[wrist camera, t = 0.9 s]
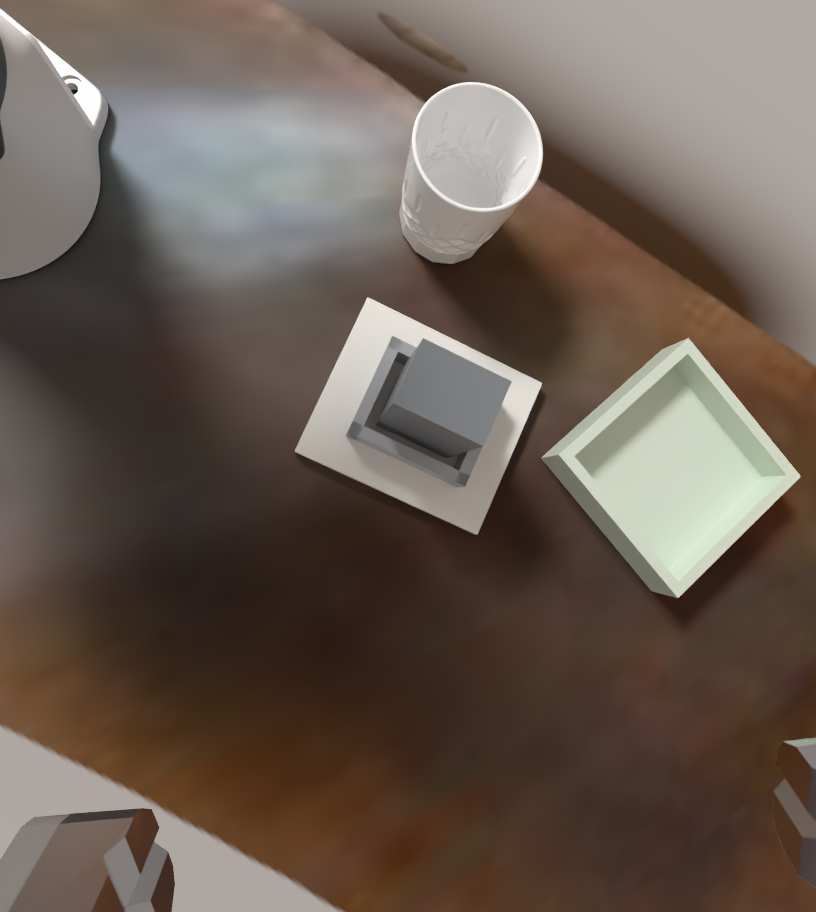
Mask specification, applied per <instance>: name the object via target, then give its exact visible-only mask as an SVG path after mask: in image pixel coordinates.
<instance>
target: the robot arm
mask: <svg viewBox="0 0 816 912" xmlns="http://www.w3.org/2000/svg"><path fill="white" fill-rule="evenodd" d="M74 89H75V90H78V92H77V93H76V94H74V95H73V93H72V92H71V90H74ZM107 115H108V104H107V101H106V99H105V98H104V96H103V95H102V94H101V92H100V91H99V89H98V88H97V87H96V86H94V85H93V84H92V83H91V82H90V81H88V80H87V79H86V78H85V77H83V76H82V75H81V74H80V73H79V72H77V71H76V70H75V69H74V68H72V67H71V66H70V65H69V64H68V63H66V62H65V61H64V60H63V59H61V58H60V57H59V56H58V55H57V54H55V53H54V52H53V51H52V50H50V49H49V48H48V47H47V46H46V45H44V44H43V43H42V42H41V41H39V40H38V39H37V38H36V37H35V36H33V35H32V34H31V33H30V32H28V31H27V30H26V29H25V28H24V27H22V26H21V25H20V24H19V23H18V22H16V21H15V20H14V19H13V18H11V17H10V16H9V15H8V14H7V13H5V12H4V11H3V10H2V9H0V279H6V278H11V277H16V276H20V275H23V274H26V273H29V272H32V271H34V270H37V269H39V268H41V267H43V266H45V265H47V264H49V263H50V262H52V261H54V260H55V259H57V258H58V257H59V256H61V255H62V254H63V253H65V252H66V251H67V250H68V249H69V248H70V247H71V246H72V245H73V244H74V243H75V242H76V241H77V240H78V238H79V237H80V236H81V235H82V233H83V232H84V230H85V229H86V227H87V225H88V224H89V222H90V220H91V218H92V216H93V213H94V211H95V208H96V205H97V201H98V197H99V191H100V164H99V155H98V144H99V139H100V137H101V134H102V131H103V129H104V126H105V123H106V120H107ZM776 766H777V767H778V769H779V770H780V772H781V773H782V775H783V776H784V778H785V779H784V780H783V781H782V782H781V784H780V785H779V786H778V787H777V788H776V789H775V790H774V791H773V807H772V813H773V817H774V821H775V826H776V830H777V834H778V837H779V839H780V842H781V844H782V846H783V848H784V851H785V853H786V855H787V857H788V859H789V860H790V862H791V864H792V865H793V867H794V869H795V871H796V872H797V874H798V875H799V876H800V877H802V878H803V879H804V880H806V881H807V882H809V883H810V884H811V885H813V886H814V887H816V738H808V739H800V740H791V741H783V743H782V744H781V745H780V747H779V748H778V751H777V760H776ZM158 829H159V826H158V823H157V821H156V819H155V816H154V814H153V812H152V810H151V809H129V810H116V811H103V812H88V813H75V814H68V815H57V816H45V817H34V818H33V819H31V820H30V821H29V822H27V823H26V824H25V825H24V826H22V827H21V828H20V830H19V831H18V833H17V835H16V836H15V838H14V839H13V841H12V842H11V844H10V845H9V847H8V849H7V850H6V852H5V853H4V855H3V857H2V858H1V860H0V912H171V910H172V902H173V893H174V885H175V882H174V872H173V865H172V862H171V859H170V856H169V853H168V852H167V851H166V850H164V849H163V848H162V847H160V846H159V845H158V844H156V843H155V842H154V839H155V837H156V834H157V832H158Z"/></svg>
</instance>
